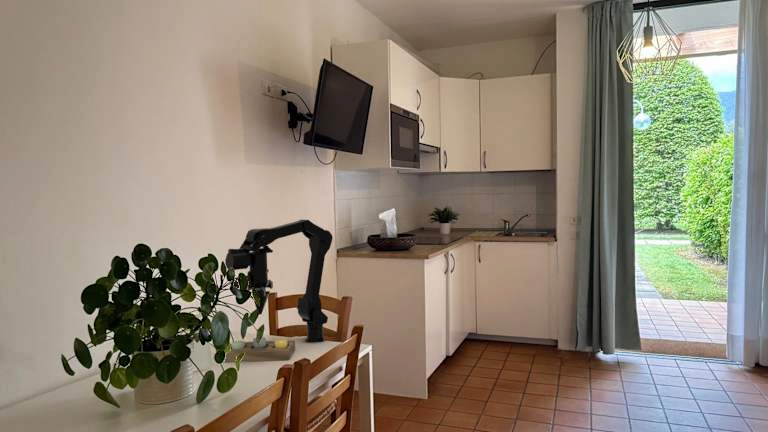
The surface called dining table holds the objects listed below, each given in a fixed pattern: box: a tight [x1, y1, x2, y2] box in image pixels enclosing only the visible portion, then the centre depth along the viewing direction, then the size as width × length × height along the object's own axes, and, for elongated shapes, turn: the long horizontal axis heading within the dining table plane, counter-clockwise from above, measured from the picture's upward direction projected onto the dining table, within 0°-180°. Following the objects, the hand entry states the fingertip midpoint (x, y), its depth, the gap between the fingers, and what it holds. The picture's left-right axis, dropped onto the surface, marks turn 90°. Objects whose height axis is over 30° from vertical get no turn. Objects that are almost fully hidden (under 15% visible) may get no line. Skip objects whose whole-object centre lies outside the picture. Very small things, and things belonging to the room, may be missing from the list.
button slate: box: [252, 337, 267, 349], centre depth 175 cm, size 4×4×4 cm
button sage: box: [231, 340, 245, 349], centre depth 175 cm, size 4×4×4 cm
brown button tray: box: [224, 339, 296, 363], centre depth 175 cm, size 12×21×3 cm, turn 90°
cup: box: [192, 312, 212, 372], centre depth 164 cm, size 8×8×16 cm
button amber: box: [274, 338, 288, 348], centre depth 175 cm, size 4×4×4 cm
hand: (259, 314), depth 177 cm, fingers closed
